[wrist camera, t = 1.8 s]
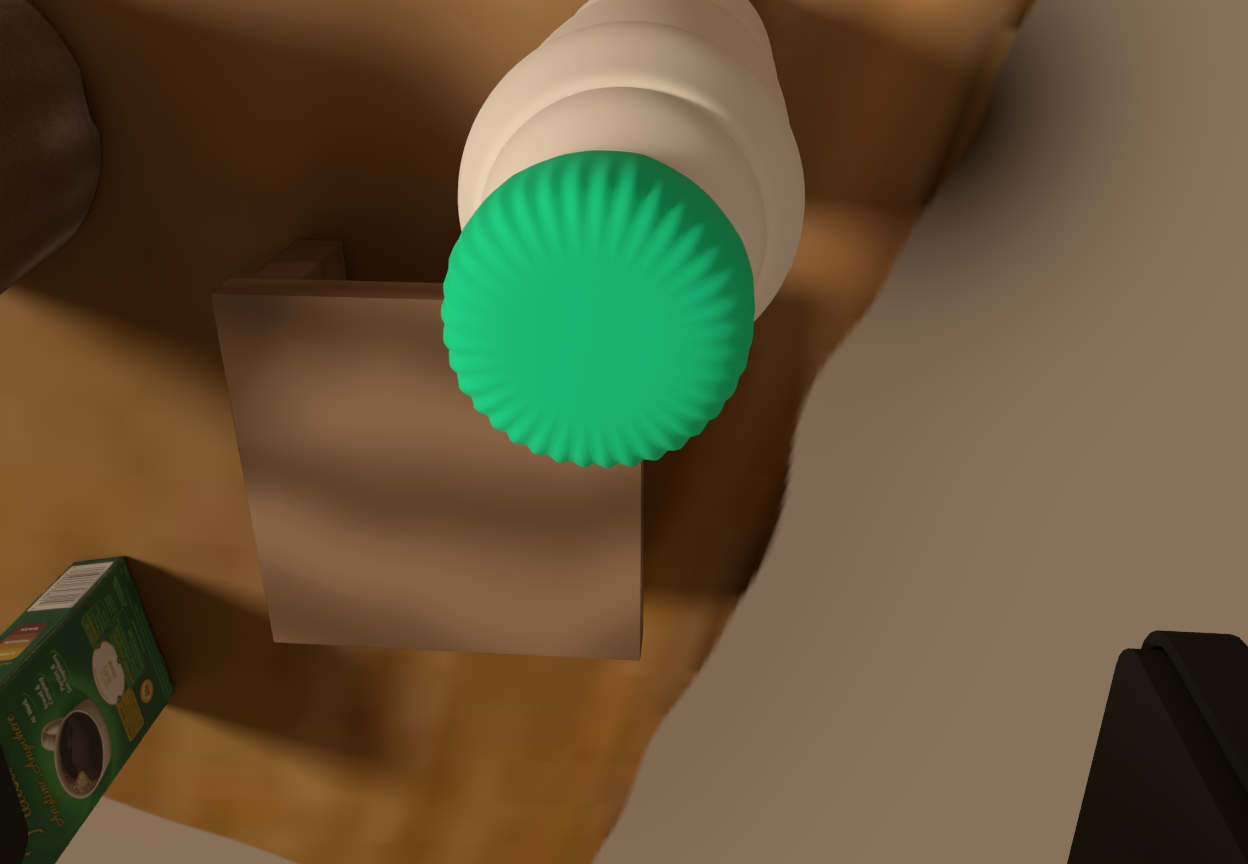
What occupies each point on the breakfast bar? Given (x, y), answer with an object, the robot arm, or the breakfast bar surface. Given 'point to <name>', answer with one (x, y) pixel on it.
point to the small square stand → (410, 482)
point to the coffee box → (76, 697)
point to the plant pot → (41, 142)
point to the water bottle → (622, 229)
